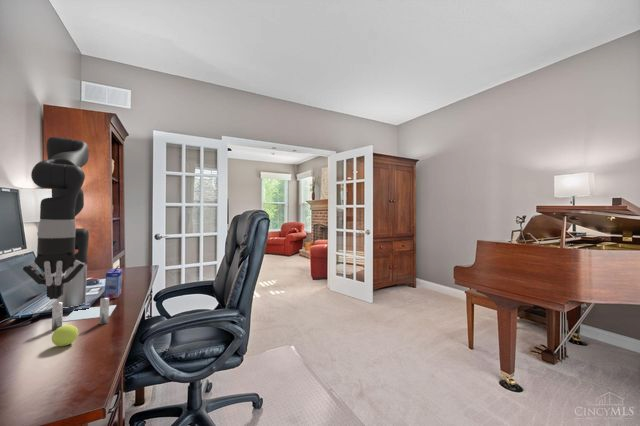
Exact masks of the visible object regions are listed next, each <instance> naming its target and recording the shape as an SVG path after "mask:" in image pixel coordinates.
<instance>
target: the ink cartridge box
mask: <svg viewBox="0 0 640 426" xmlns="http://www.w3.org/2000/svg"><path fill="white" fill-rule="evenodd" d="M119 267H120V265H118V266H116V268H115V269H114V268H113V269H109V270H108V271H107V272H106V273H105V281H104V295H103V298H107V297H108V298H109V299H117V298H118V299H119V296H120V295H121V294H122V285H123V284H122V283H123V270H124V269H122V268H119Z"/></svg>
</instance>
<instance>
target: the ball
mask: <svg viewBox="0 0 640 426" xmlns="http://www.w3.org/2000/svg"><path fill="white" fill-rule="evenodd" d="M78 336H79V330H78V328H77V327H76V326H75V325H72V324H65V325H64V324H63V325H62V326H61V327H59V328H58V329H56V330H53V333H52V335H51V342H52V344H54V345H55V346H58V347H65V346H69V345H71V344H72V343H73V342H75V341H76V339H77V338H78Z"/></svg>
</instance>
